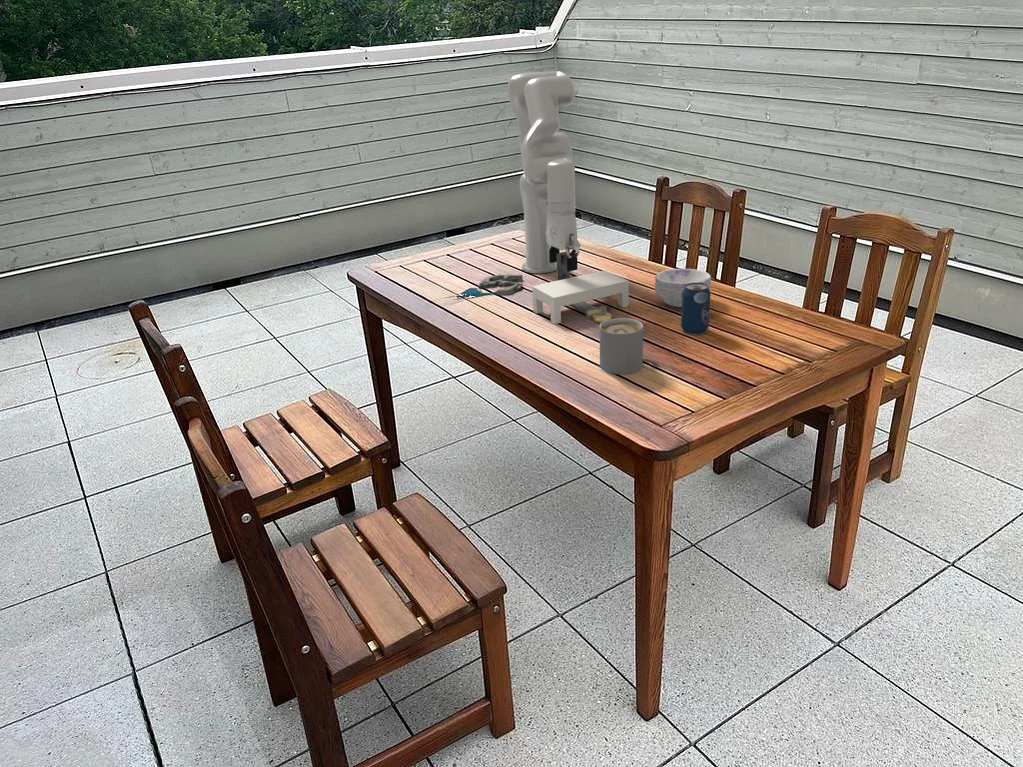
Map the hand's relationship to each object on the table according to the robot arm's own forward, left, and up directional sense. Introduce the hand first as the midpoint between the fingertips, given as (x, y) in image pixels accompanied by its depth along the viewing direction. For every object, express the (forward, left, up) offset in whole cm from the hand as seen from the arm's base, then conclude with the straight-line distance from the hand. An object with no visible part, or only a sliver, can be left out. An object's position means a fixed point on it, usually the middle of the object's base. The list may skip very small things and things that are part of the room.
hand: (563, 266), depth 221 cm
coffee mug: (+47, -11, -10) cm, 50 cm away
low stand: (+9, 0, -10) cm, 14 cm away
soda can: (+40, +15, -10) cm, 44 cm away
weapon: (-22, -18, -11) cm, 30 cm away
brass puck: (+20, 0, -11) cm, 23 cm away
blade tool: (+8, 0, -10) cm, 13 cm away
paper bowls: (+21, +26, -10) cm, 35 cm away
